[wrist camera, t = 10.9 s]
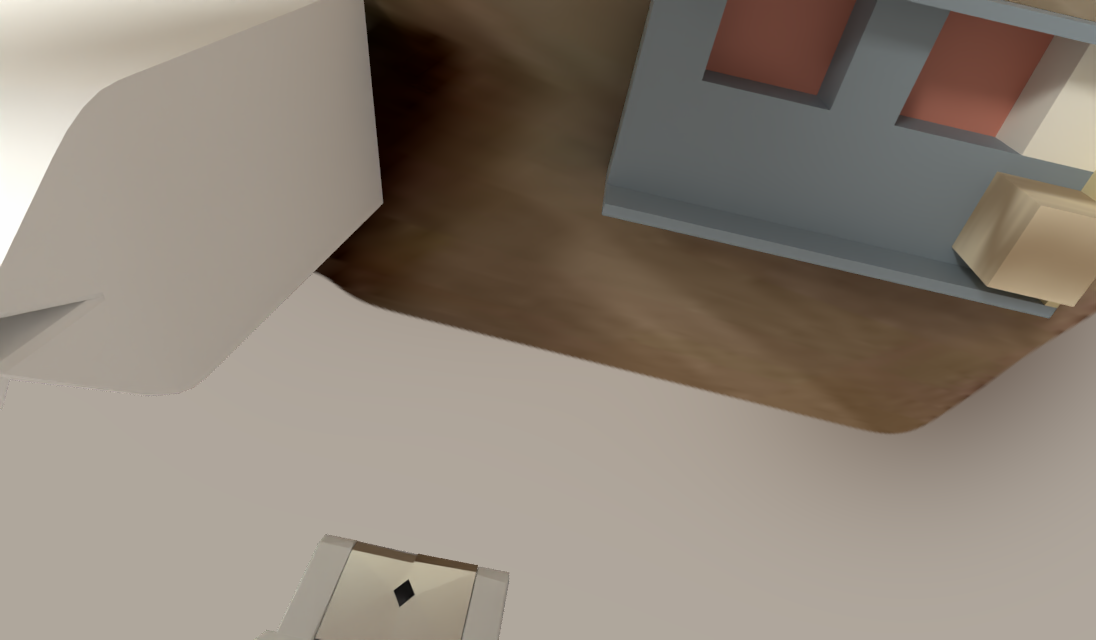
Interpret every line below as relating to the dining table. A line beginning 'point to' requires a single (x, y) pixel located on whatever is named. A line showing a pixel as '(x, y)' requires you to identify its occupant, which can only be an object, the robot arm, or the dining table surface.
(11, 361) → the milk
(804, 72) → the box
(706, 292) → the dining table surface
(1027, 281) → the block
